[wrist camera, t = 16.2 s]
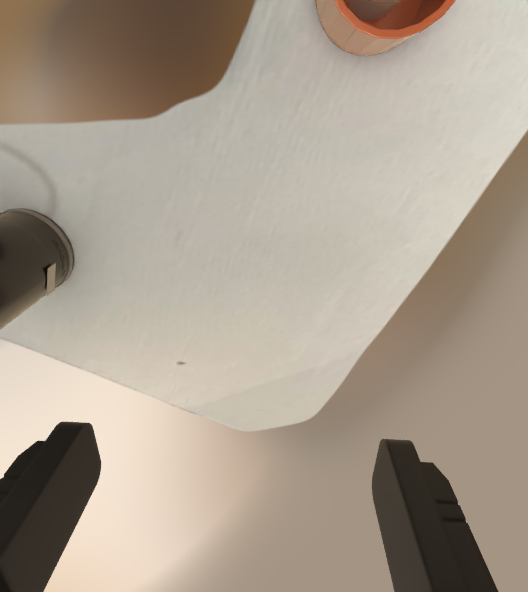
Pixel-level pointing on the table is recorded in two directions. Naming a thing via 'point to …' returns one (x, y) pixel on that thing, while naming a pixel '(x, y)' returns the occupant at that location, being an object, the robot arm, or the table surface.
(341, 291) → the table surface
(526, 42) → the table surface
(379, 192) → the table surface
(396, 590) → the robot arm
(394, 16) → the pen cup
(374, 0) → the tube
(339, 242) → the table surface
